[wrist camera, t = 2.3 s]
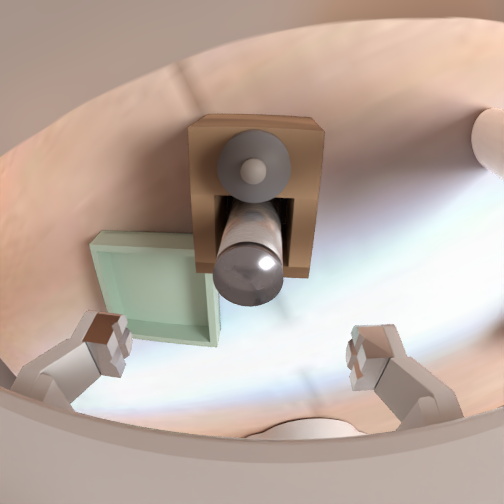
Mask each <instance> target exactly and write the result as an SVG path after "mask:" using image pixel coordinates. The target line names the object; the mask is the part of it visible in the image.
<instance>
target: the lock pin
mask: <svg viewBox="0 0 504 504" xmlns="http://www.w3.org/2000/svg"><path fill="white" fill-rule="evenodd" d="M213 283H214V285H215V288H216V289H217V291H218V292H219V293H220V295H221V296H223V297H224V298H225V299H226V300H228V301H230V302H232V303H234V304H237V305H241V306H258V305H262V304H265V303H267V302H269V301H270V300H272V299H273V298H275V297H276V295H277V294H278V293H279V292H280V290H281V288H282V285H283V258H282V238H281V219H280V202H279V198H278V197H274V198H272V199H271V200H268V201H265V202H260V203H249V202H244V201H241V200H239V199H237V198H235V197H234V199H233V202H232V206H231V209H230V213H229V216H228V219H227V223H226V226H225V230H224V233H223V237H222V240H221V244H220V248H219V251H218V255H217V258H216V262H215V265H214V269H213Z"/></svg>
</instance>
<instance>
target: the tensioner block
mask: <svg viewBox="0 0 504 504" xmlns="http://www.w3.org/2000/svg"><path fill="white" fill-rule="evenodd" d="M324 136H325V131H324V130H323V129H322V128H321V127H320V126H319V125H318V124H317V123H316V122H315V121H314V120H313V119H312V118H310V117H297V116H280V115H258V114H208V115H206V116H205V117H203V118H201V119H200V120H198V121H197V122H195V123H193V124H192V125H190V126H189V127H188V145H189V171H190V192H191V209H192V225H193V240H194V253H195V266H196V273H208V274H213V269H214V265H215V262H216V258H217V255H218V251H219V248H220V244H221V240H222V237H223V233H224V230H225V226H226V223H227V219H228V195H230V196H233V197H235V198H237V199H239V200H241V201H244V202H249V203H260V202H265V201H268V200H271V199H272V198H274V197H278V198H287V206H286V220H285V224H283V223H281V238H282V258H283V277H287V278H308V277H309V270H310V262H311V255H312V248H313V240H314V232H315V224H316V215H317V207H318V198H319V189H320V179H321V169H322V159H323V148H324Z"/></svg>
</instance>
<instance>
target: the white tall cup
mask: <svg viewBox="0 0 504 504" xmlns="http://www.w3.org/2000/svg"><path fill="white" fill-rule="evenodd" d="M471 143H472V149H473V152H474V155H475V157H476V159H477V160H478V162H479V163H480V164H481V165H482V166H483V167H484V168H486V169H487V170H489V171H491V172H492V173H494V174H496V175H497V176H498V177H499V178H501V179H502V180H503V181H504V110H503V109H500V108H490V109H487V110H485V111H483V112H482V113H481V114H480V115H479V116H478V117H477V119H476V121H475V123H474V125H473V129H472V134H471Z"/></svg>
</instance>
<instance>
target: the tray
mask: <svg viewBox="0 0 504 504" xmlns="http://www.w3.org/2000/svg"><path fill="white" fill-rule="evenodd" d="M89 246H90V250H91V255H92V259H93V262H94V266H95V270H96V274H97V278H98V281H99V285H100V288H101V292H102V295H103V299H104V302H105V305H106V308H107V312H109V313H116V314H123V315H125V316H126V319H127V321H128V323H127V325H126V327H127V328H128V329H129V330H130V331H131V335H132V338H135V339H142V340H150V341H159V342H167V343H176V344H186V345H196V346H208V347H217V346H218V341H219V335H220V330H221V325H220V306H219V292H218V291H217V289H216V288H215V285H214V283H213V274H208V273H196V266H195V253H194V240H193V233H168V232H139V231H106V230H102V231H101V232H100V233H99V234H98V235H97V236H96V237H95V239H94V240H93V241H92V242H91V243H90V244H89Z"/></svg>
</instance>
